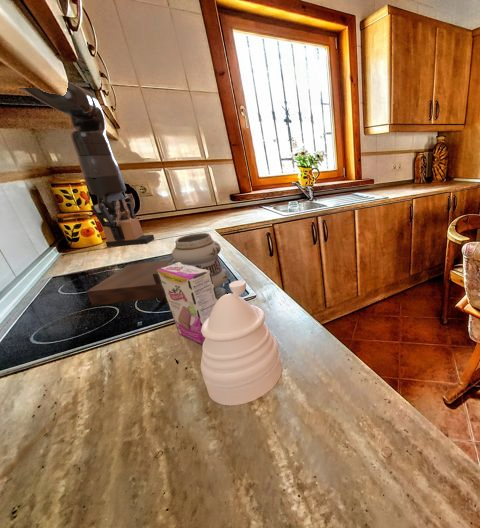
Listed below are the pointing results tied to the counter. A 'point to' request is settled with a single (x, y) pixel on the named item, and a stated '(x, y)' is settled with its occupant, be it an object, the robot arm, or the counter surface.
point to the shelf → (131, 284)
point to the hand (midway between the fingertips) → (125, 237)
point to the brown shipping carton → (128, 234)
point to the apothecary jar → (202, 257)
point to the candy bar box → (188, 297)
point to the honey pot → (238, 351)
